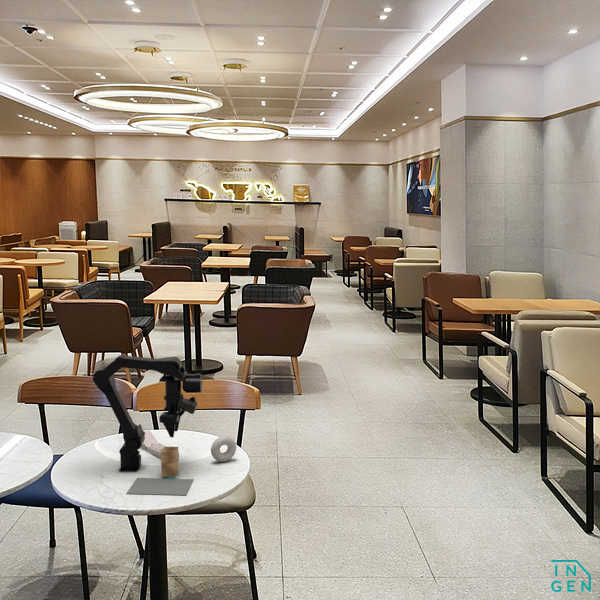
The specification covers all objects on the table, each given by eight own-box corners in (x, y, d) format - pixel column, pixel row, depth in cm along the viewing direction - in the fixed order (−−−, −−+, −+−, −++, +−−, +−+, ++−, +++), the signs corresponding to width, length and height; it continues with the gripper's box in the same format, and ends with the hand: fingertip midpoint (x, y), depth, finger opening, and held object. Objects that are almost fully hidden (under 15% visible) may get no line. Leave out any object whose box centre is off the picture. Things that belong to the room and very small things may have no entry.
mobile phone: (148, 429, 269) (183, 445, 251) (149, 443, 270) (183, 460, 252) (135, 433, 265) (169, 449, 247) (136, 447, 266) (170, 464, 248)
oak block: (161, 478, 235) (161, 451, 233) (164, 473, 239) (164, 446, 238) (175, 479, 234) (175, 451, 233) (178, 473, 239) (178, 446, 238)
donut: (212, 465, 247) (212, 439, 246) (209, 462, 251) (209, 436, 249) (237, 461, 252) (237, 435, 251) (234, 457, 255) (234, 432, 254)
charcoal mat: (126, 494, 221) (126, 493, 221) (137, 478, 234) (137, 477, 234) (186, 495, 221) (186, 494, 221) (193, 480, 234) (193, 479, 234)
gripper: (190, 400, 231) (191, 443, 233) (200, 386, 249) (200, 426, 251) (158, 399, 231) (159, 442, 233) (170, 385, 249) (171, 425, 251)
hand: (174, 434), depth 242 cm, fingers open, 6 cm apart
